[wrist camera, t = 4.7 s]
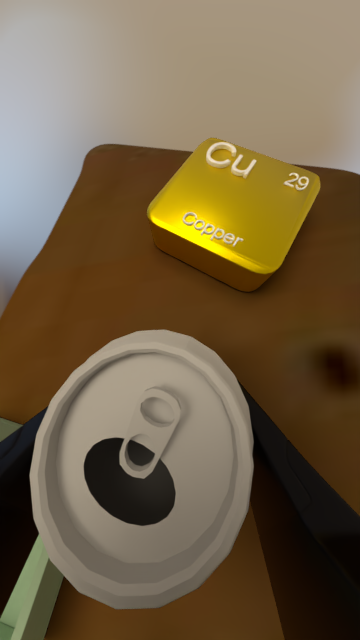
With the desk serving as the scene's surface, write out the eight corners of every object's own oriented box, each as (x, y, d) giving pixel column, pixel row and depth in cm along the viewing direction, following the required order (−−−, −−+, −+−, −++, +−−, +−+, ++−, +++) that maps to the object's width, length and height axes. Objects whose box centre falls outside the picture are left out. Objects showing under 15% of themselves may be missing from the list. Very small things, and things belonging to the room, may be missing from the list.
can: (122, 405, 15) (-73, 545, 4) (155, 337, 17) (95, 285, 5) (191, 442, 14) (222, 790, 3) (219, 366, 16) (313, 380, 4)
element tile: (147, 244, 20) (136, 210, 15) (203, 173, 23) (208, 126, 19) (253, 299, 18) (277, 278, 13) (299, 212, 21) (332, 169, 16)
